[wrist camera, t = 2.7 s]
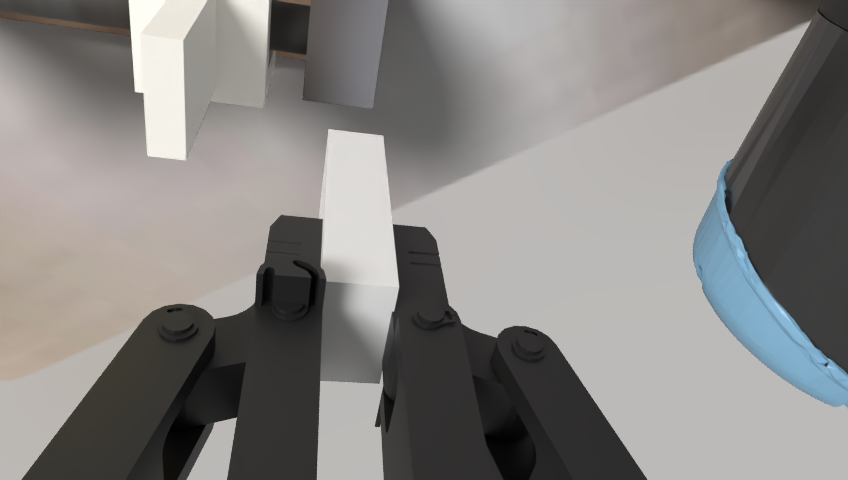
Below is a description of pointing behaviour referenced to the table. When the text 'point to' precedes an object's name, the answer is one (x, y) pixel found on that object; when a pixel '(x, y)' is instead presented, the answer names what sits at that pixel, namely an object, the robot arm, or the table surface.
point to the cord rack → (289, 36)
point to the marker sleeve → (197, 64)
